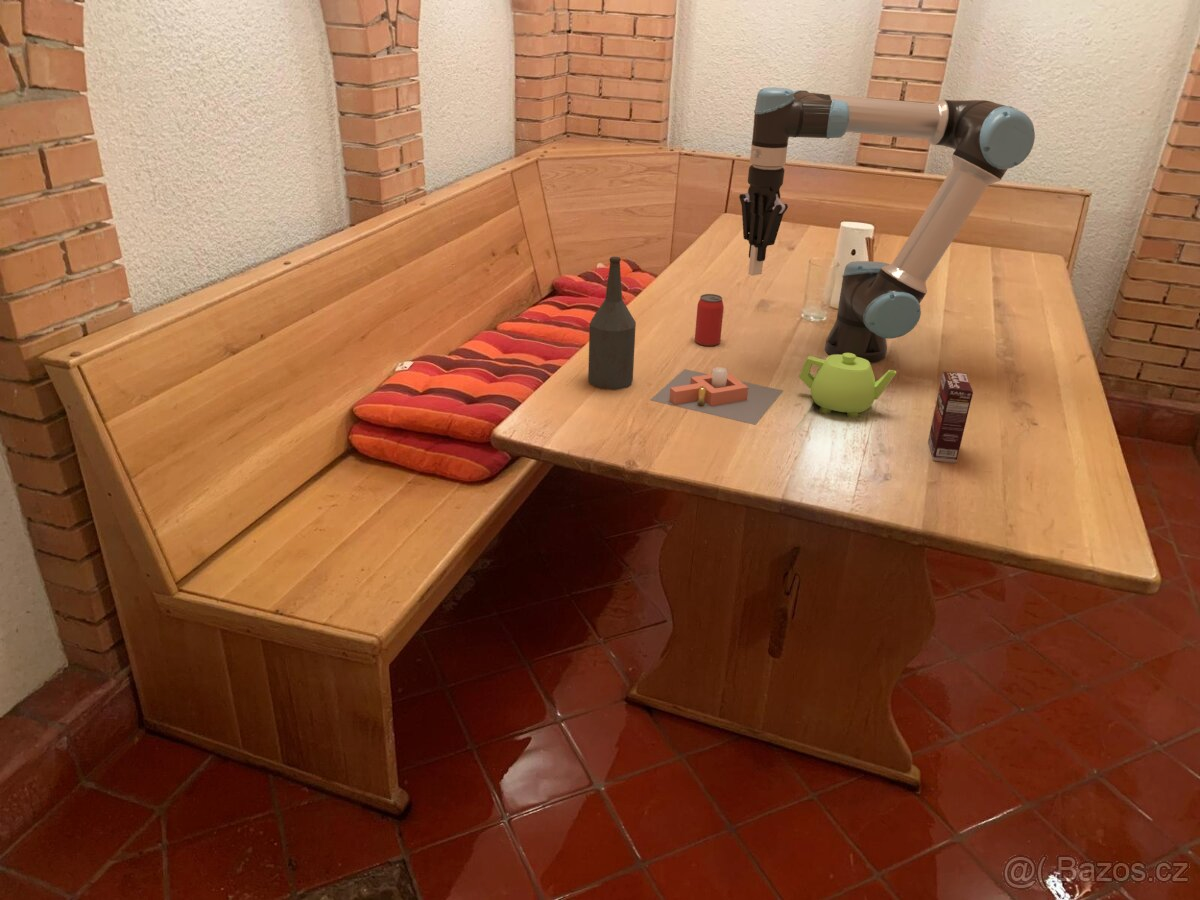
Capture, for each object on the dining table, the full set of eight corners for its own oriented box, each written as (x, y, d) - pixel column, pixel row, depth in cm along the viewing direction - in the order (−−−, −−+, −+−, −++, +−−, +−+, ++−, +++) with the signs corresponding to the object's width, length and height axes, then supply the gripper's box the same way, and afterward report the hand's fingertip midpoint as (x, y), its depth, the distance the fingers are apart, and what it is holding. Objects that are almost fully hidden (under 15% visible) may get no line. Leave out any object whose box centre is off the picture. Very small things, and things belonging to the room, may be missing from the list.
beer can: (719, 348, 230) (723, 302, 225) (693, 345, 231) (696, 300, 226) (721, 338, 236) (725, 294, 230) (695, 336, 237) (699, 292, 231)
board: (782, 396, 205) (786, 365, 201) (754, 431, 189) (758, 398, 185) (684, 374, 214) (686, 345, 211) (649, 406, 198) (651, 374, 195)
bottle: (600, 398, 201) (604, 266, 187) (580, 382, 209) (583, 253, 194) (640, 391, 205) (647, 261, 191) (619, 375, 213) (625, 249, 199)
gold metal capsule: (705, 404, 196) (707, 387, 195) (703, 407, 195) (704, 390, 193) (698, 402, 197) (700, 385, 195) (696, 405, 196) (697, 388, 194)
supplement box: (926, 441, 187) (942, 370, 180) (950, 444, 186) (967, 373, 179) (931, 461, 180) (948, 387, 172) (957, 464, 179) (975, 390, 171)
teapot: (889, 403, 203) (900, 350, 198) (885, 428, 192) (896, 373, 186) (800, 389, 209) (807, 337, 203) (791, 412, 198) (798, 358, 192)
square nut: (725, 383, 207) (726, 371, 205) (746, 399, 199) (748, 387, 198) (662, 394, 200) (662, 381, 199) (682, 411, 193) (683, 398, 192)
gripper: (733, 162, 196) (723, 268, 207) (775, 173, 187) (762, 284, 198) (759, 159, 200) (747, 264, 211) (801, 170, 191) (787, 279, 202)
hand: (754, 273), depth 204 cm, fingers closed
